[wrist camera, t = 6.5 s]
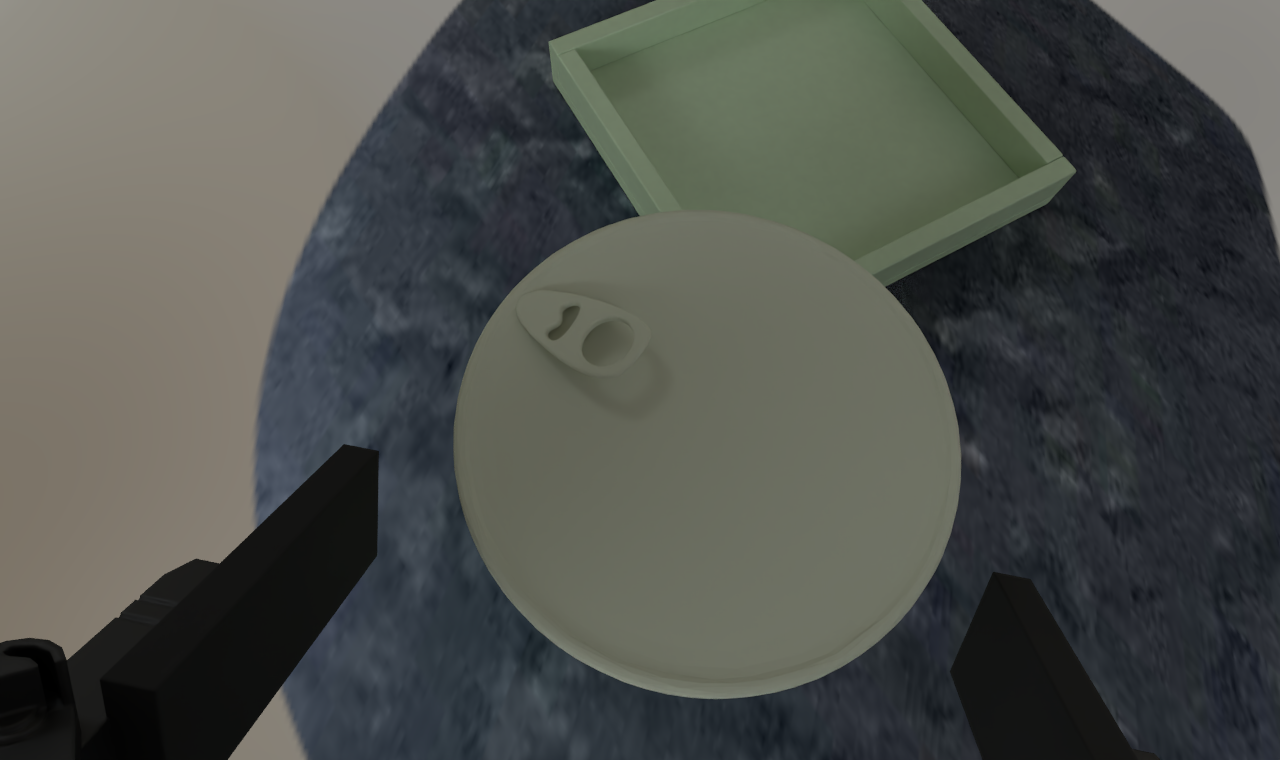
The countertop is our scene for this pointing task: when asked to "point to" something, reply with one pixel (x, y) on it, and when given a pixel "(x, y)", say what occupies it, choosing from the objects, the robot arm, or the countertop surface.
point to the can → (707, 454)
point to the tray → (810, 122)
